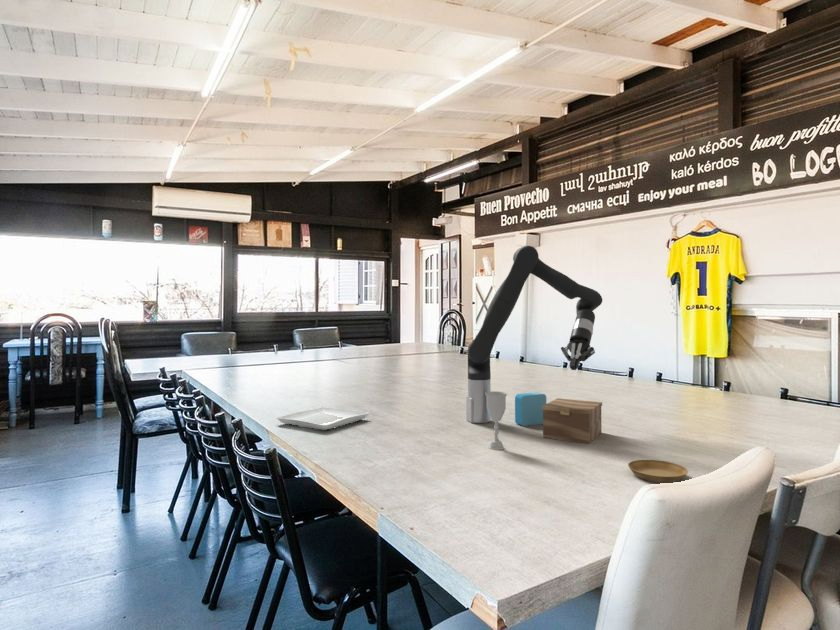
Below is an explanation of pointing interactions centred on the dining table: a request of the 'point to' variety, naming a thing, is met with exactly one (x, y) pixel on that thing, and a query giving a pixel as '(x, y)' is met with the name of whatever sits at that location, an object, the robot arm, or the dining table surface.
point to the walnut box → (572, 426)
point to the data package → (529, 408)
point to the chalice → (496, 414)
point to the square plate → (347, 414)
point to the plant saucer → (657, 470)
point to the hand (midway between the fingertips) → (573, 368)
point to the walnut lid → (572, 406)
